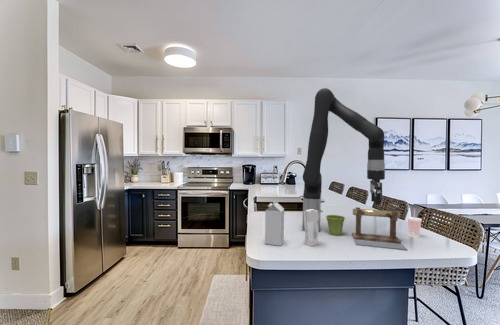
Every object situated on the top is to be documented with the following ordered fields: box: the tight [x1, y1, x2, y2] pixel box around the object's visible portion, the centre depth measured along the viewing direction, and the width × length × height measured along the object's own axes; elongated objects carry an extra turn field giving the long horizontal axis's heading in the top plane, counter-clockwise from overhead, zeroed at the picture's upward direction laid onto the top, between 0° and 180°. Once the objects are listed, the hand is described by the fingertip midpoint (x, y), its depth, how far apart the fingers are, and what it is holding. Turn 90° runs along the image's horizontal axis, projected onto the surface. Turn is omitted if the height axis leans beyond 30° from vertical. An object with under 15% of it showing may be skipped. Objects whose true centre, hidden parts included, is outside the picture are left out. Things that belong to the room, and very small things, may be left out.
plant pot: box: [325, 214, 346, 236], centre depth 122 cm, size 9×9×9 cm
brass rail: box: [352, 208, 401, 219], centre depth 114 cm, size 20×3×3 cm, turn 73°
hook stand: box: [351, 206, 402, 245], centre depth 114 cm, size 20×7×14 cm, turn 73°
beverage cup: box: [406, 208, 423, 239], centre depth 120 cm, size 6×6×14 cm
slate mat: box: [353, 239, 408, 251], centre depth 106 cm, size 20×6×1 cm, turn 73°
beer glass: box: [304, 209, 321, 247], centre depth 107 cm, size 7×7×15 cm
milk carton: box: [264, 199, 285, 247], centre depth 107 cm, size 7×7×19 cm
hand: (375, 203), depth 114 cm, fingers open, 8 cm apart
